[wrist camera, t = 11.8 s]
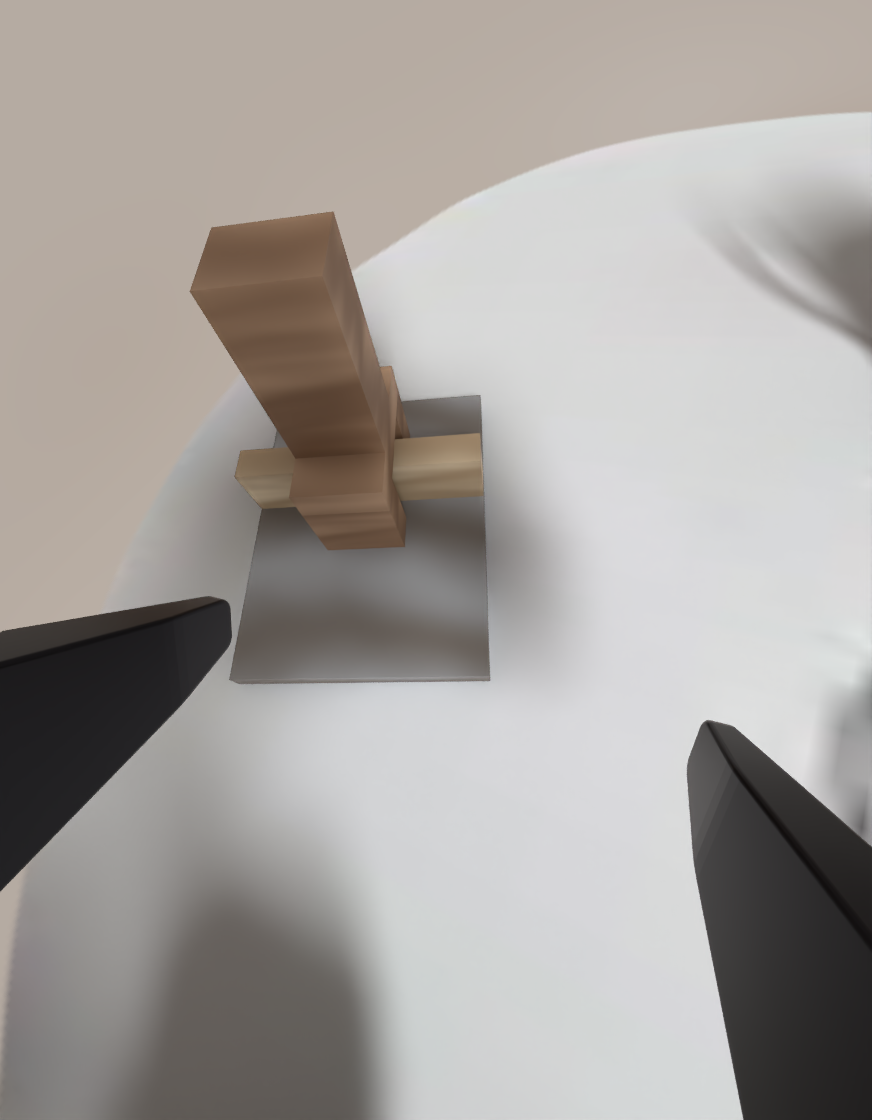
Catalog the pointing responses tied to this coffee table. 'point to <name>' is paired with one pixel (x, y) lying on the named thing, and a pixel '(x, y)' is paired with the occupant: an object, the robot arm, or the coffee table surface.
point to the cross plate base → (374, 569)
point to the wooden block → (311, 370)
